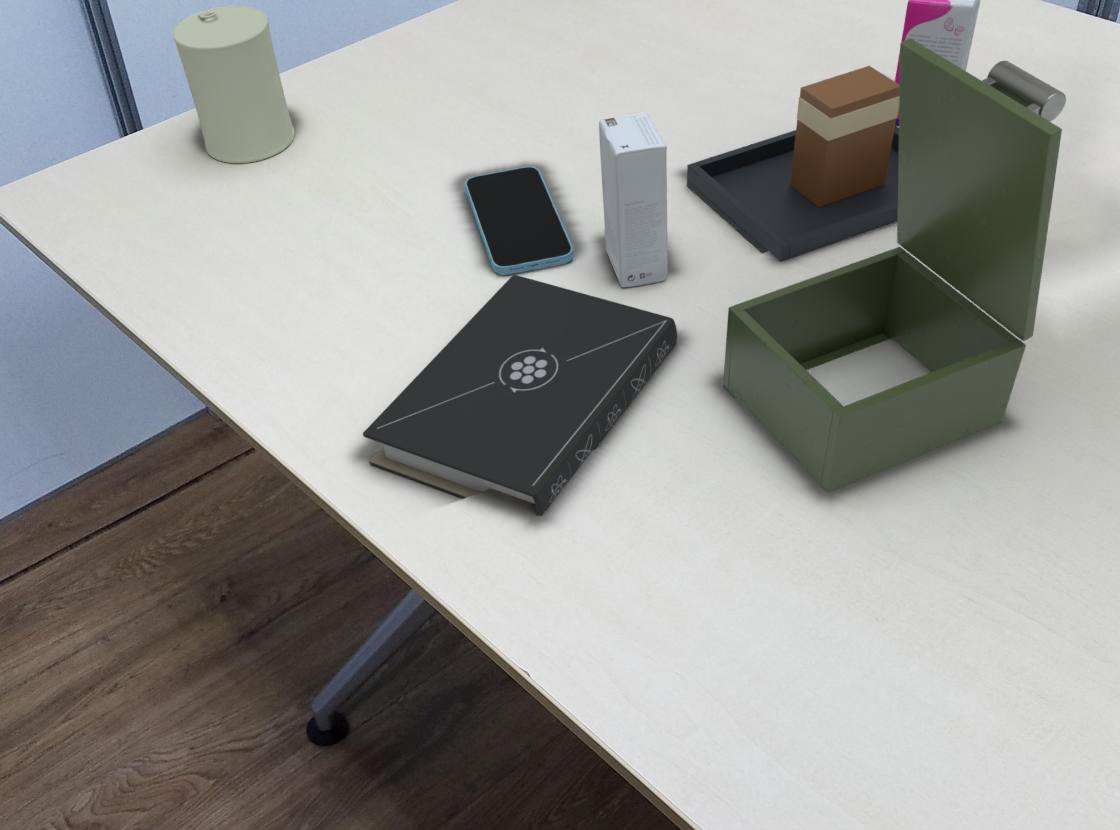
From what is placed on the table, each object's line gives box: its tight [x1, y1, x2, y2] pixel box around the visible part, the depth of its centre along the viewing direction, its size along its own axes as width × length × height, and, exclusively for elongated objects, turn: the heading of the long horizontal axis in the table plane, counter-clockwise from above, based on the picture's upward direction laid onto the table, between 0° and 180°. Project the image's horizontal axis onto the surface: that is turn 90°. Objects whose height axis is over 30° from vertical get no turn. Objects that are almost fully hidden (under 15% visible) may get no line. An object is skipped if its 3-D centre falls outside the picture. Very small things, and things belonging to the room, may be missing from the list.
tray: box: [686, 125, 899, 262], centre depth 104 cm, size 20×16×2 cm
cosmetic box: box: [598, 111, 669, 288], centre depth 95 cm, size 6×4×12 cm
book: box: [362, 274, 678, 516], centre depth 88 cm, size 22×15×3 cm
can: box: [172, 5, 296, 164], centre depth 115 cm, size 9×9×12 cm
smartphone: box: [464, 166, 574, 276], centre depth 105 cm, size 7×1×15 cm
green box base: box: [722, 246, 1027, 493], centre depth 83 cm, size 15×14×8 cm
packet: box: [790, 65, 900, 207], centre depth 101 cm, size 7×5×9 cm, turn 115°
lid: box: [896, 38, 1067, 342], centre depth 75 cm, size 16×14×5 cm
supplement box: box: [894, 0, 981, 126], centre depth 108 cm, size 6×6×12 cm
